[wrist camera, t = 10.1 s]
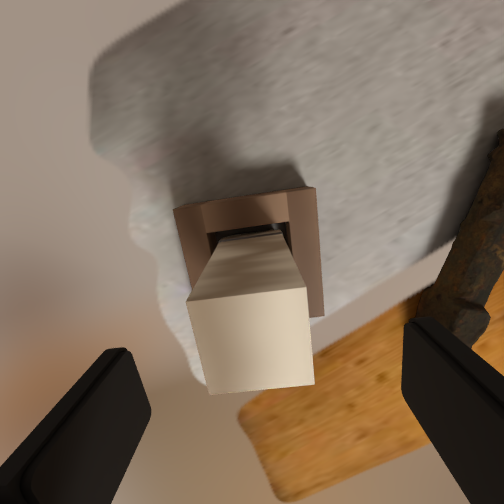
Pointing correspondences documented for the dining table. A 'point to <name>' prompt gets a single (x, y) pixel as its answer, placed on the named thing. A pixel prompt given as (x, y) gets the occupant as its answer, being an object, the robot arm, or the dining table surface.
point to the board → (254, 214)
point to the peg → (252, 316)
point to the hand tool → (472, 261)
